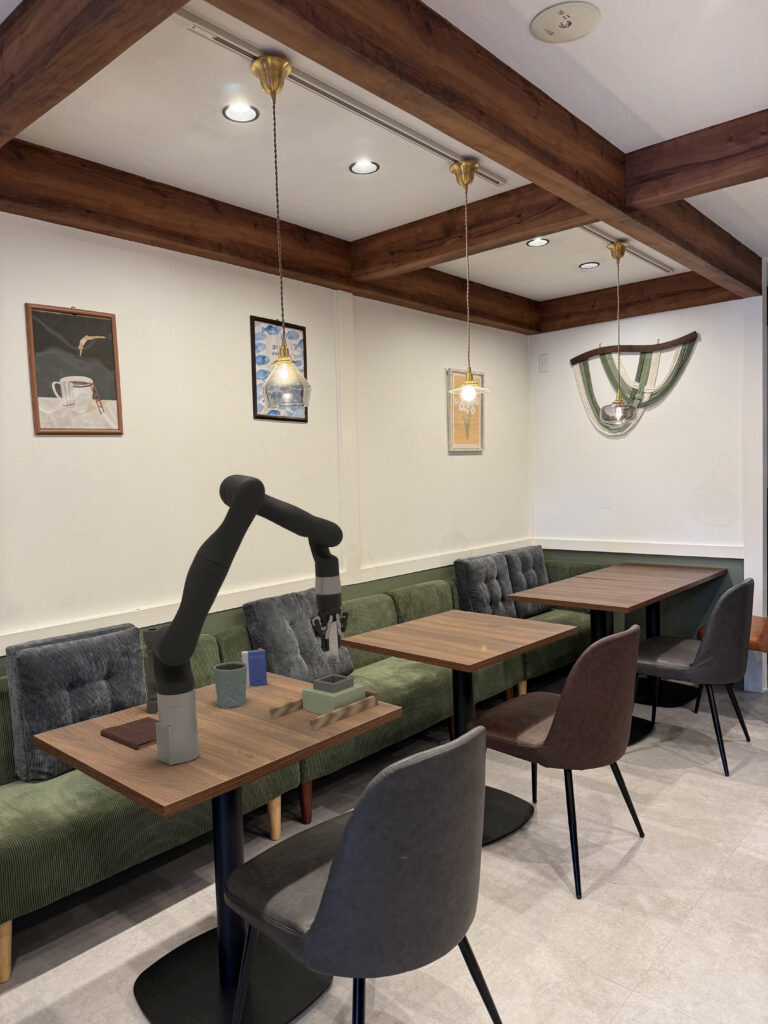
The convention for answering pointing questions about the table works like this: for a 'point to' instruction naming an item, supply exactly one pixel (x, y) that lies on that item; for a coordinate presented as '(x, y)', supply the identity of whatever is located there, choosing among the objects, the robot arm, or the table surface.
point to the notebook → (134, 733)
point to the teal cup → (230, 683)
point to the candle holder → (150, 671)
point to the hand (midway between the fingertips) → (331, 649)
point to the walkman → (255, 667)
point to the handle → (332, 645)
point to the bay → (331, 716)
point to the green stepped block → (331, 694)
